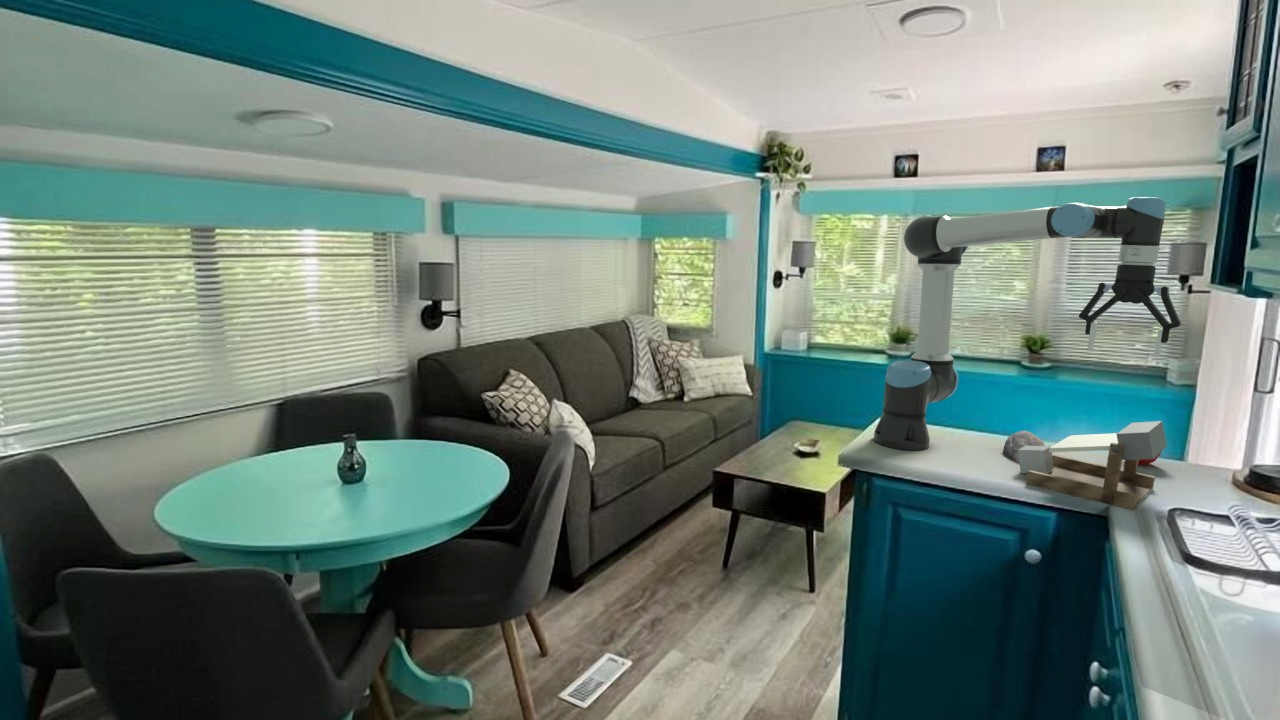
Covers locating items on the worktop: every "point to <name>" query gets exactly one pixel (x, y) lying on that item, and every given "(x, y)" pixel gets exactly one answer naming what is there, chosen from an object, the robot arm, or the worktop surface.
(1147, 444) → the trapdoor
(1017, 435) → the stone
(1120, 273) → the robot arm
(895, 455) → the worktop surface
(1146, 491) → the wooden trebuchet model
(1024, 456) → the granite block
